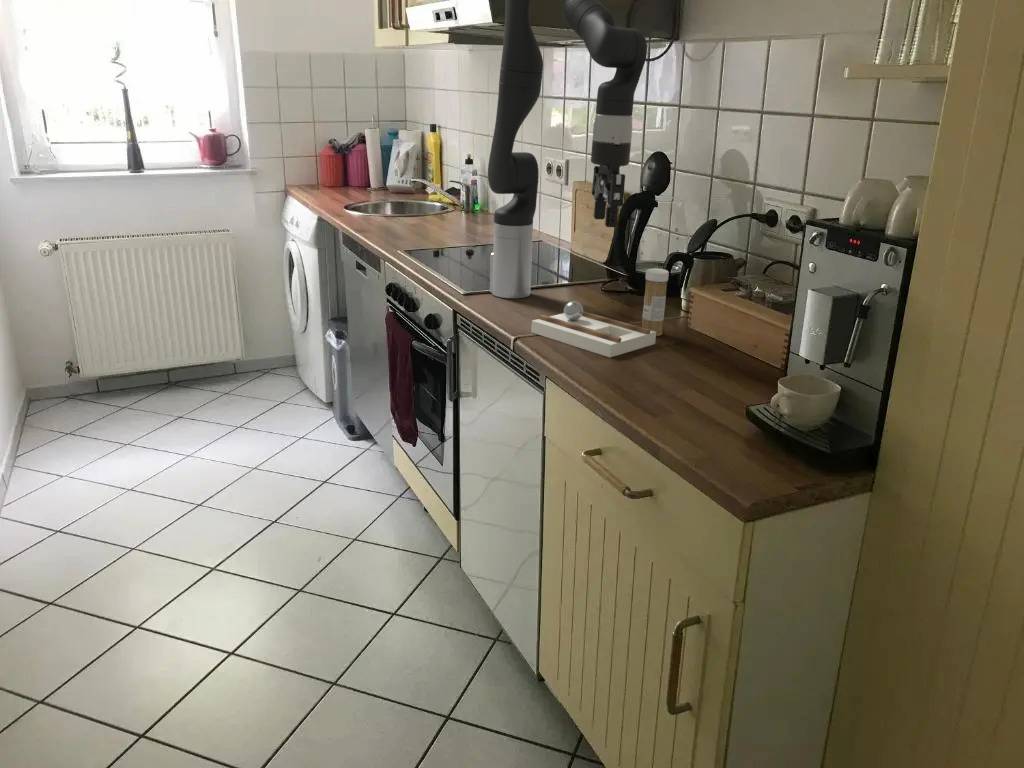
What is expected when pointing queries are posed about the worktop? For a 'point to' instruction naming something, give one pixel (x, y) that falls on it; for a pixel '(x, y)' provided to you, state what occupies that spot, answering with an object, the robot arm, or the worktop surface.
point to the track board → (594, 333)
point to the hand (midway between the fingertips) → (604, 222)
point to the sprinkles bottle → (654, 299)
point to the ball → (573, 310)
